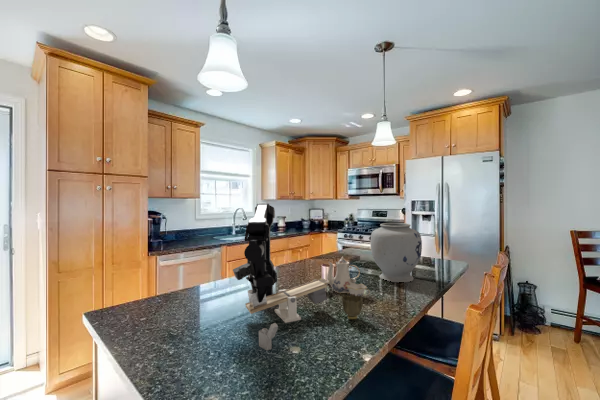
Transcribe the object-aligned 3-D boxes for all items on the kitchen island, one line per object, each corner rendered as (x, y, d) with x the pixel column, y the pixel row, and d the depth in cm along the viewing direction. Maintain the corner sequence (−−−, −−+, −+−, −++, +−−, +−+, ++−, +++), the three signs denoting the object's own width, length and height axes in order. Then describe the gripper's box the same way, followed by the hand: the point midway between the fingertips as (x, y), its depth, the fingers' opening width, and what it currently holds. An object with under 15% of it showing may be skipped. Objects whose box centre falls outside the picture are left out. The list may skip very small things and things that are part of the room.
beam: (248, 320, 104) (245, 303, 104) (319, 294, 116) (317, 279, 116) (253, 328, 98) (250, 310, 97) (328, 299, 110) (326, 283, 110)
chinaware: (306, 297, 131) (304, 262, 130) (318, 284, 147) (316, 252, 145) (368, 305, 121) (367, 267, 119) (373, 290, 136) (373, 256, 135)
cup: (363, 324, 99) (362, 300, 99) (341, 322, 100) (341, 299, 100) (362, 315, 106) (362, 294, 106) (342, 314, 107) (342, 292, 108)
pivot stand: (274, 311, 111) (274, 290, 111) (288, 309, 113) (288, 288, 113) (285, 323, 100) (285, 299, 100) (301, 320, 103) (300, 296, 103)
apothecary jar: (431, 285, 143) (430, 225, 144) (377, 285, 144) (377, 225, 144) (411, 272, 170) (410, 221, 170) (366, 272, 171) (365, 222, 171)
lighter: (258, 345, 84) (258, 318, 85) (263, 343, 86) (263, 316, 86) (273, 354, 79) (273, 325, 80) (278, 352, 81) (278, 323, 81)
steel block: (249, 304, 103) (247, 290, 103) (263, 299, 105) (260, 286, 105) (253, 308, 99) (251, 294, 98) (267, 303, 101) (264, 290, 101)
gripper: (229, 253, 107) (229, 295, 107) (241, 263, 90) (241, 312, 90) (258, 251, 112) (258, 291, 112) (274, 259, 95) (275, 307, 95)
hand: (257, 299), depth 102 cm, fingers closed on steel block, 5 cm apart
